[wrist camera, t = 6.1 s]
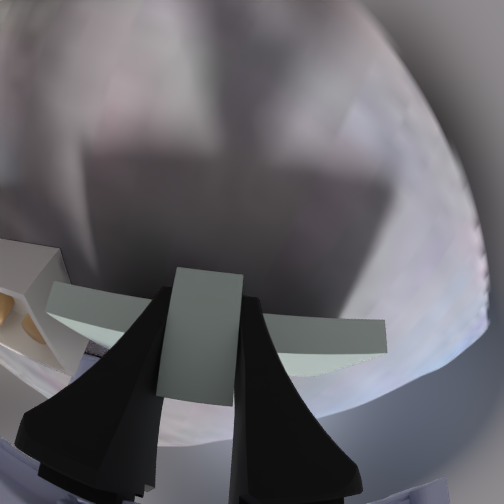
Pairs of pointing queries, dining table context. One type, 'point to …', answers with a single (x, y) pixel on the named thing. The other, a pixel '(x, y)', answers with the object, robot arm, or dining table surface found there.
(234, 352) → the lid
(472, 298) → the dining table surface
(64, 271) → the tub
